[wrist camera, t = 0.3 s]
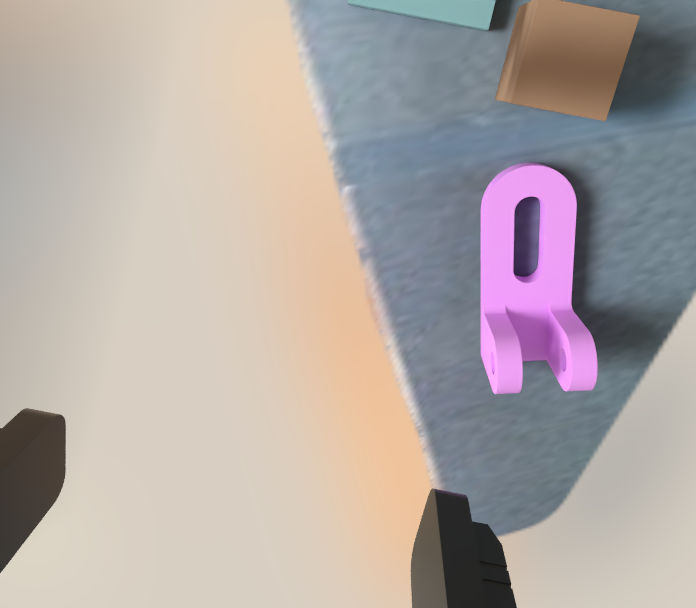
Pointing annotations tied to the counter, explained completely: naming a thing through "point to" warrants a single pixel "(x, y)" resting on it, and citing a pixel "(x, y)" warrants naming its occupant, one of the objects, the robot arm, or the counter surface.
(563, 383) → the bracket
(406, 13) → the teal mat
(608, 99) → the walnut block
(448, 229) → the counter surface
